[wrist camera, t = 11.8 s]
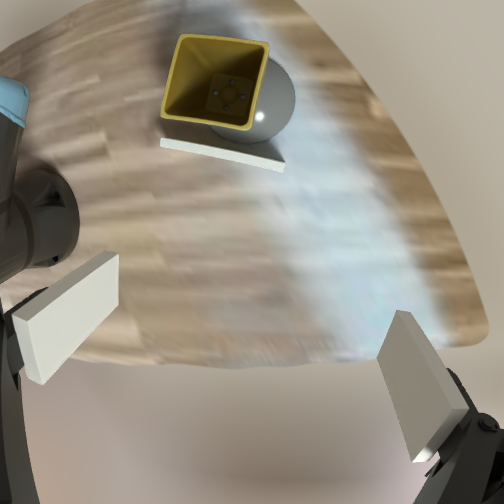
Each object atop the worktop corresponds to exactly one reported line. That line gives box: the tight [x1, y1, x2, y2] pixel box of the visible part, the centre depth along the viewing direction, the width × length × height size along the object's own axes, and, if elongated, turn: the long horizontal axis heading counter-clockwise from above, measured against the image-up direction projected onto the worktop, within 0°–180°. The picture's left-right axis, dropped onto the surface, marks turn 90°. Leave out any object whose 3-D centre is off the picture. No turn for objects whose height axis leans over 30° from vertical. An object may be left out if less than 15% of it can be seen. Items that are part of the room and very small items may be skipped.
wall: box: [160, 138, 285, 172], centre depth 35 cm, size 14×1×4 cm, turn 77°
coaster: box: [209, 59, 295, 144], centre depth 34 cm, size 11×11×1 cm
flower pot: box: [160, 34, 270, 131], centre depth 30 cm, size 9×9×9 cm
